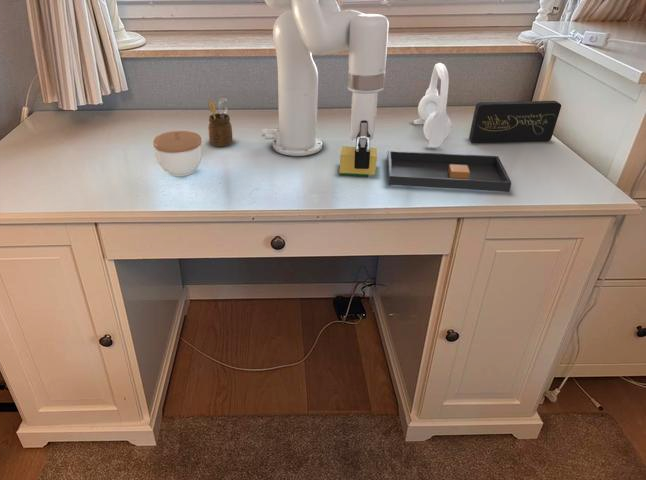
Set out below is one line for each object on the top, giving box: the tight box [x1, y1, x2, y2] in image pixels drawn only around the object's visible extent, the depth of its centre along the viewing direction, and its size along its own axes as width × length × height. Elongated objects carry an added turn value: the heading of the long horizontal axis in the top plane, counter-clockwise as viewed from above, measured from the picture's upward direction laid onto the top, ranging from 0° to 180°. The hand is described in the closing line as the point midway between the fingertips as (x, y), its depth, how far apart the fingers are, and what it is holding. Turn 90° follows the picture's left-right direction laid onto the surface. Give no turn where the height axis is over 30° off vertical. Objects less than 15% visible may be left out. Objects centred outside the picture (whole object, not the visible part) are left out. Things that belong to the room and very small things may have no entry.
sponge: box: [338, 145, 378, 178], centre depth 117 cm, size 8×5×5 cm, turn 82°
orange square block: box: [448, 164, 470, 179], centre depth 115 cm, size 4×4×2 cm
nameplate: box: [468, 100, 562, 144], centre depth 130 cm, size 21×2×10 cm, turn 93°
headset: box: [413, 62, 452, 148], centre depth 131 cm, size 20×7×18 cm, turn 173°
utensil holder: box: [207, 97, 233, 148], centre depth 130 cm, size 6×6×12 cm
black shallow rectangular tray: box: [386, 150, 512, 193], centre depth 115 cm, size 25×14×3 cm, turn 82°
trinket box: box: [152, 130, 203, 178], centre depth 116 cm, size 11×11×9 cm
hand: (362, 159), depth 116 cm, fingers open, 9 cm apart
